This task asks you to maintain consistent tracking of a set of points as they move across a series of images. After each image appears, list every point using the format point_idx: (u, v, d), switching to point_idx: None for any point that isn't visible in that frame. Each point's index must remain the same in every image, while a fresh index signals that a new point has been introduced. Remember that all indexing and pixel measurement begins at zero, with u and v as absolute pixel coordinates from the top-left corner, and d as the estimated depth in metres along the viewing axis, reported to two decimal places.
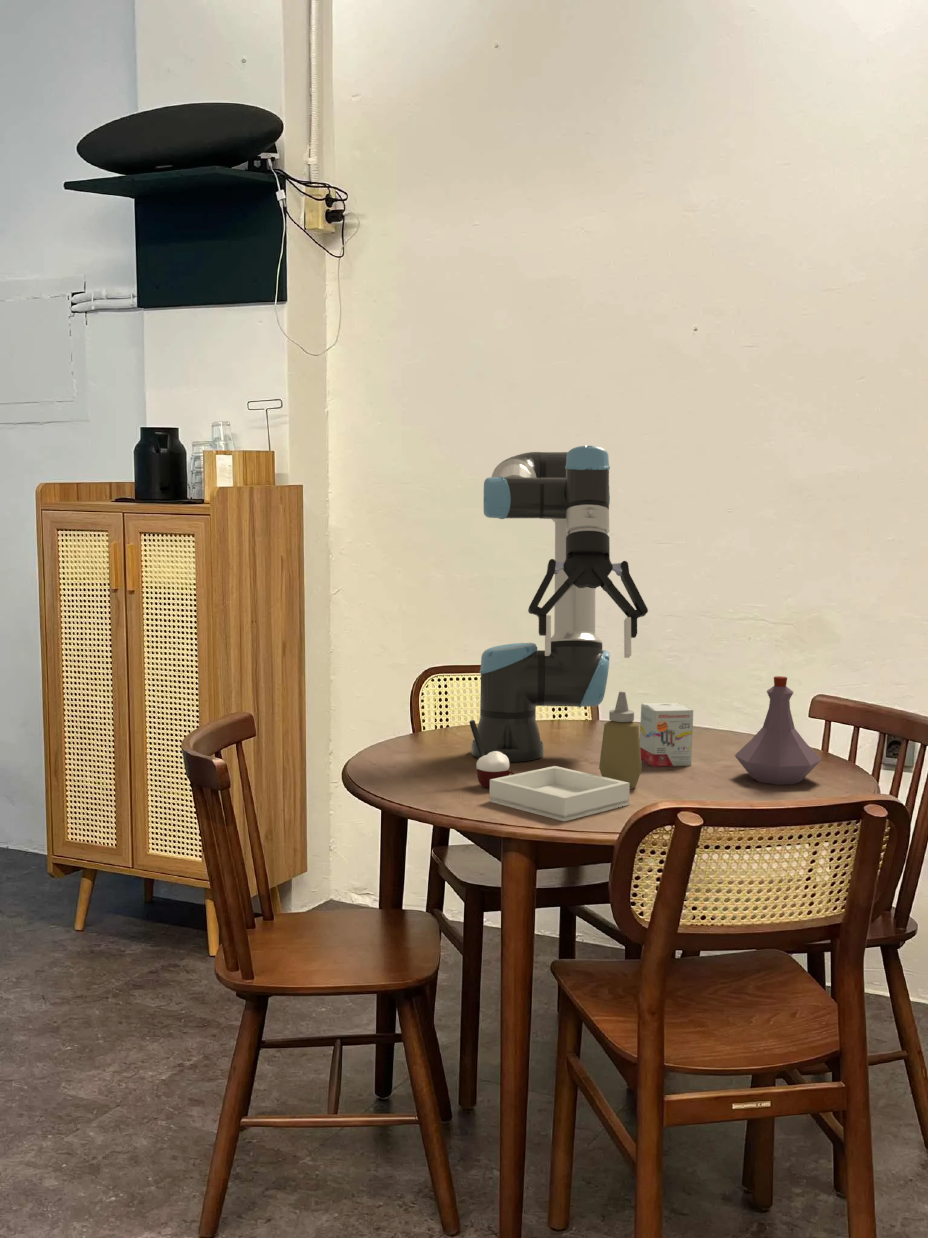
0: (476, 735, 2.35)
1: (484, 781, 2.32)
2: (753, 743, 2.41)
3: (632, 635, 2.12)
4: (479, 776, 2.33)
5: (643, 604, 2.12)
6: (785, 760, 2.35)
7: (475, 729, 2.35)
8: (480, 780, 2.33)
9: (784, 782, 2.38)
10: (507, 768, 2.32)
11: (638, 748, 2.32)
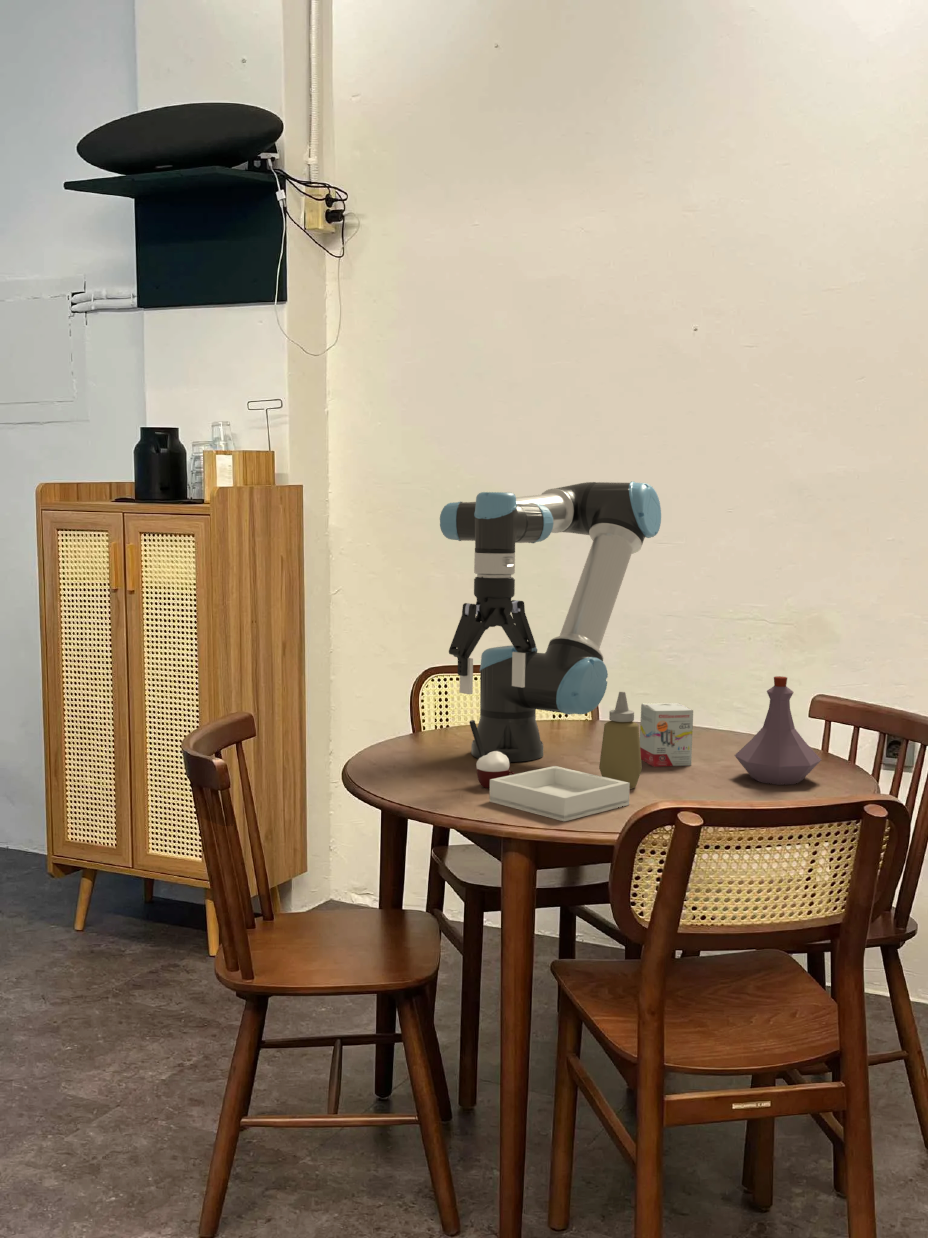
0: (476, 735, 2.35)
1: (484, 781, 2.32)
2: (753, 743, 2.41)
3: None
4: (479, 776, 2.33)
5: (533, 640, 2.37)
6: (785, 760, 2.35)
7: (475, 729, 2.35)
8: (480, 780, 2.33)
9: (784, 782, 2.38)
10: (507, 768, 2.32)
11: (638, 748, 2.32)
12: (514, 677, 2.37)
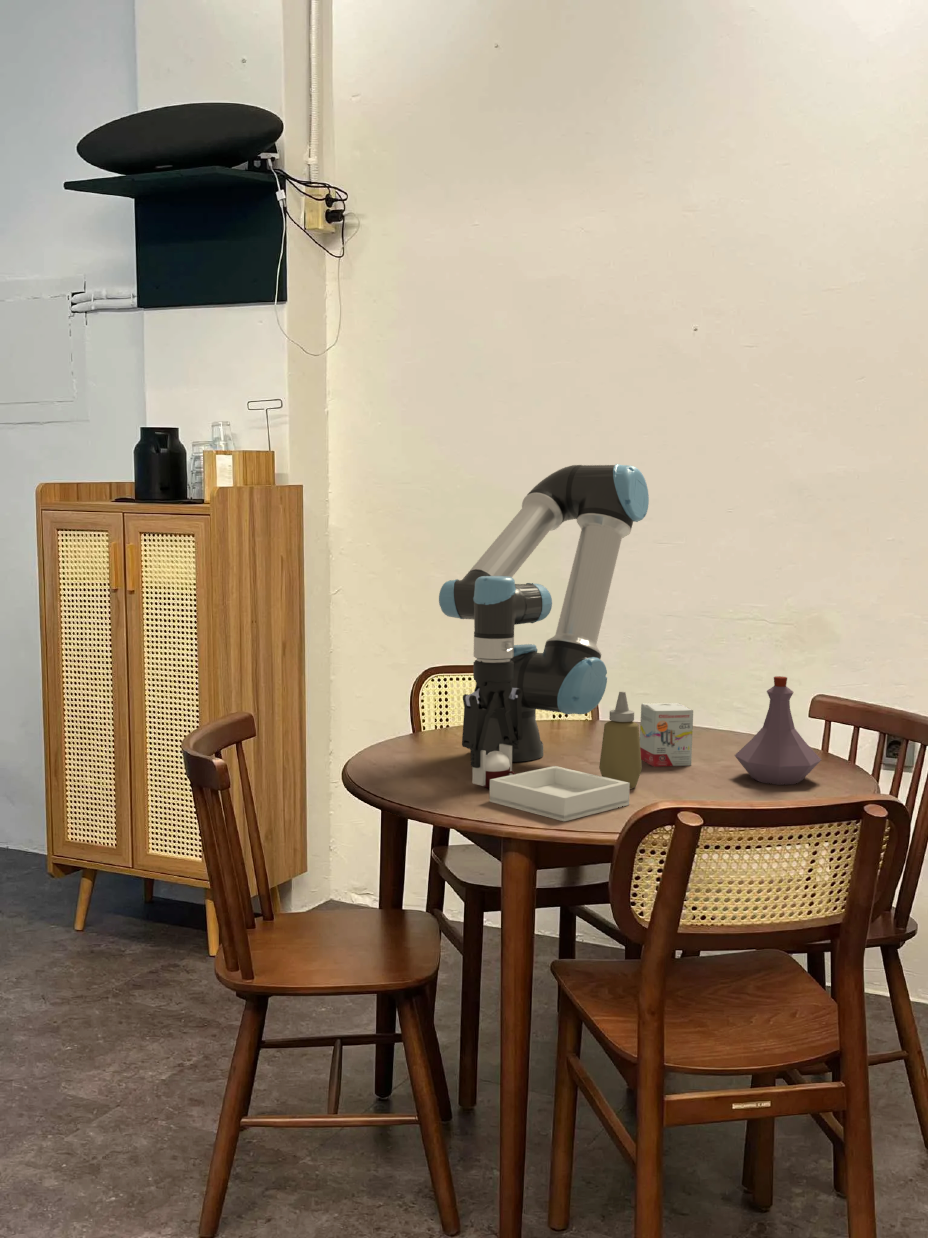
0: None
1: None
2: (753, 743, 2.41)
3: None
4: None
5: (521, 731, 2.37)
6: (785, 760, 2.35)
7: None
8: None
9: (784, 782, 2.38)
10: (507, 768, 2.32)
11: (638, 748, 2.32)
12: None
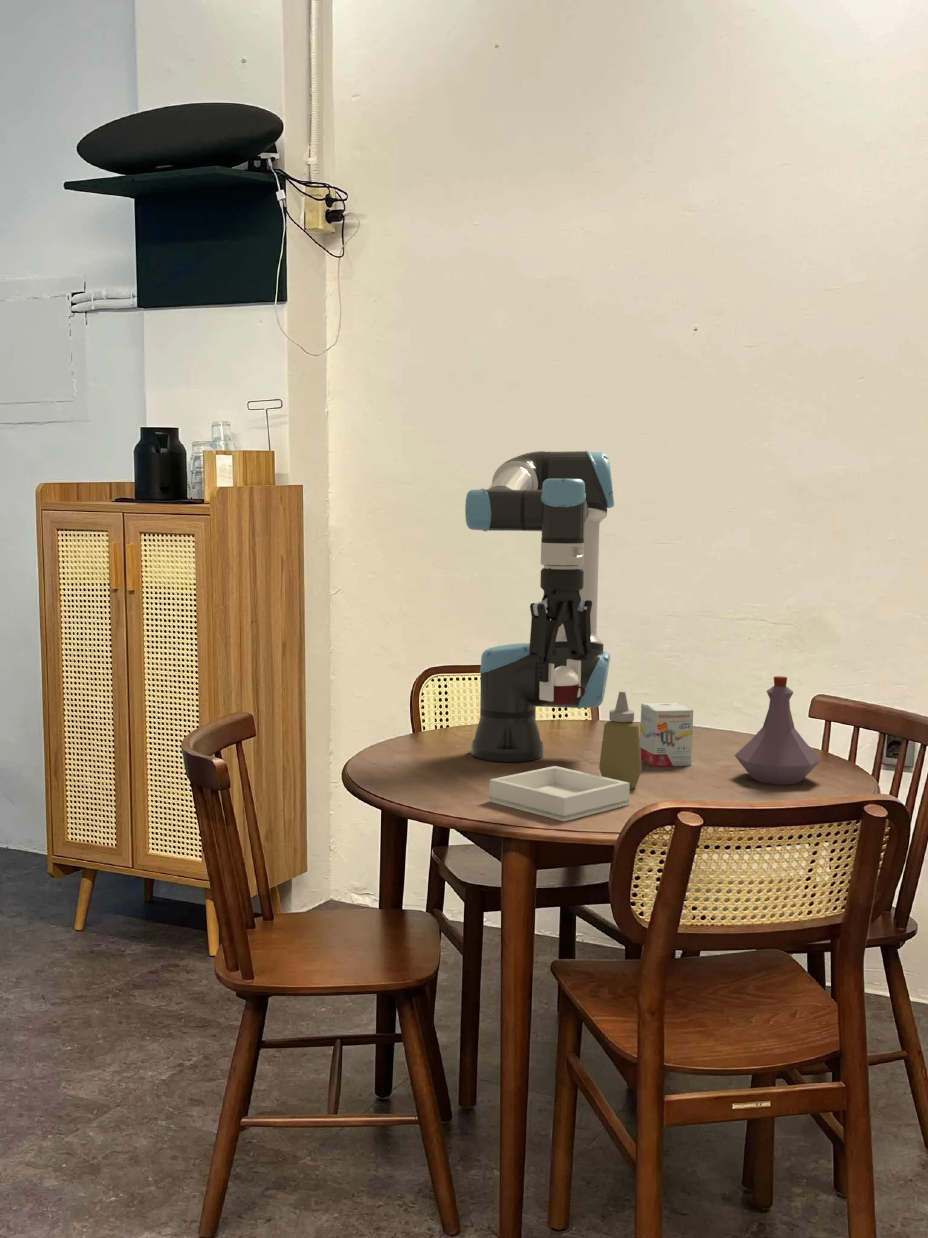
0: None
1: None
2: (753, 743, 2.41)
3: None
4: None
5: (590, 646, 2.23)
6: (785, 760, 2.35)
7: None
8: None
9: (784, 782, 2.38)
10: (576, 683, 2.18)
11: (638, 748, 2.32)
12: None
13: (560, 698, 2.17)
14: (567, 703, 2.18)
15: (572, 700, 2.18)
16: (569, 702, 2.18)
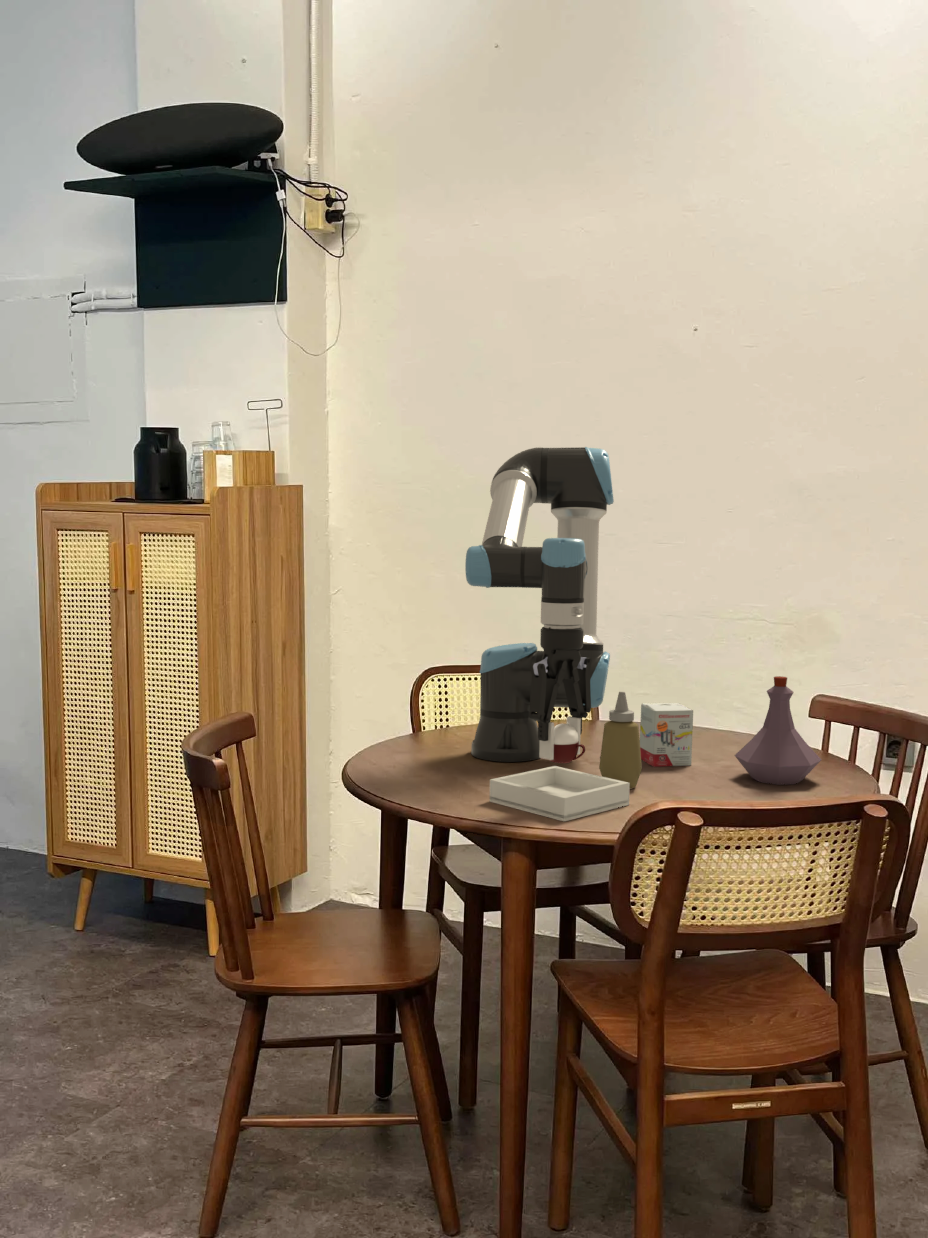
0: None
1: None
2: (753, 743, 2.41)
3: None
4: None
5: (589, 703, 2.24)
6: (785, 760, 2.35)
7: None
8: None
9: (784, 782, 2.38)
10: (576, 741, 2.19)
11: (638, 748, 2.32)
12: None
13: (560, 757, 2.18)
14: (567, 761, 2.19)
15: (572, 758, 2.19)
16: (569, 760, 2.19)
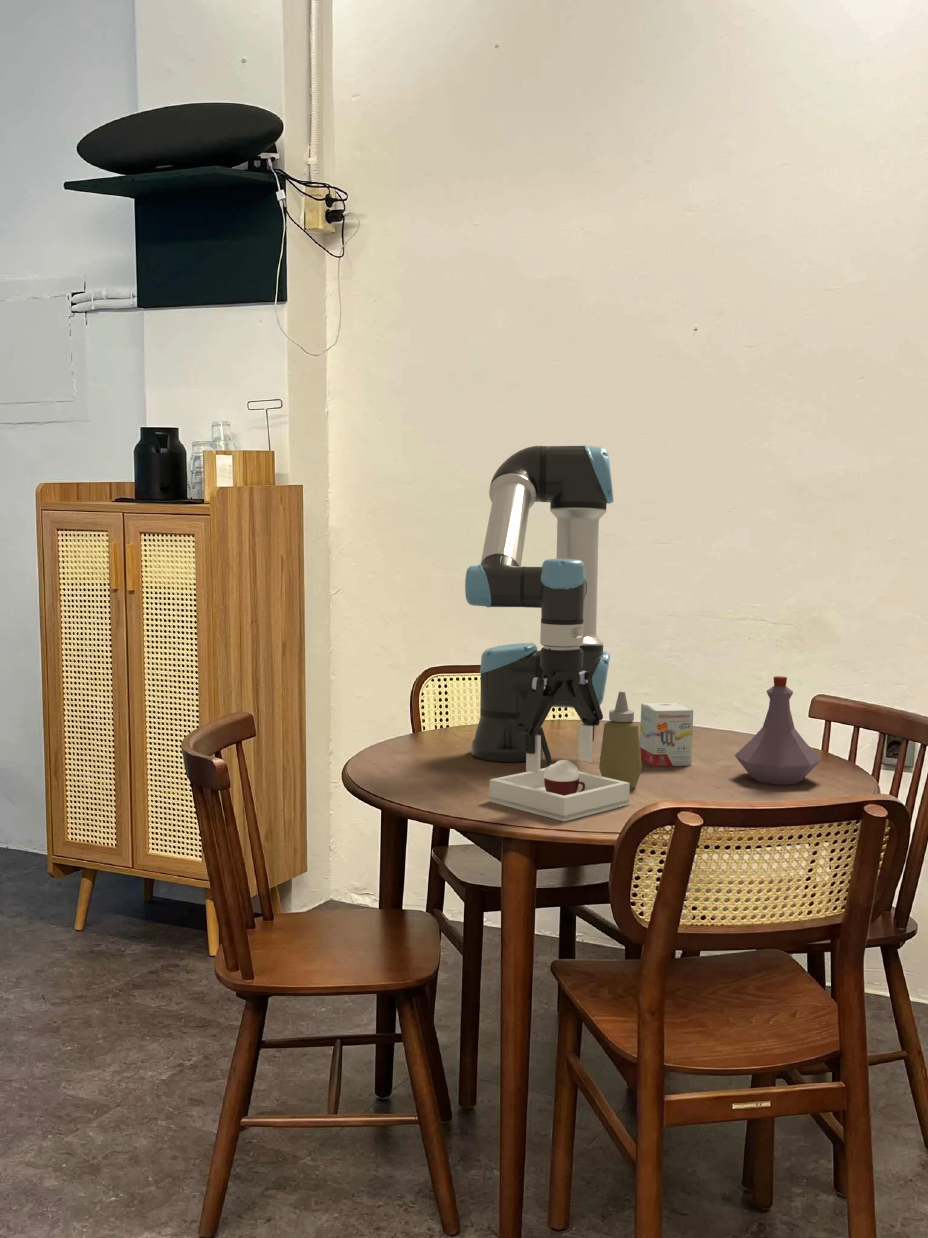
0: (544, 743, 2.23)
1: (552, 791, 2.20)
2: (753, 743, 2.41)
3: None
4: (547, 786, 2.20)
5: (600, 711, 2.26)
6: (784, 760, 2.35)
7: (543, 736, 2.23)
8: (548, 790, 2.20)
9: (784, 782, 2.38)
10: (576, 778, 2.20)
11: (638, 748, 2.32)
12: (581, 751, 2.26)
13: (560, 793, 2.19)
14: None
15: None
16: None
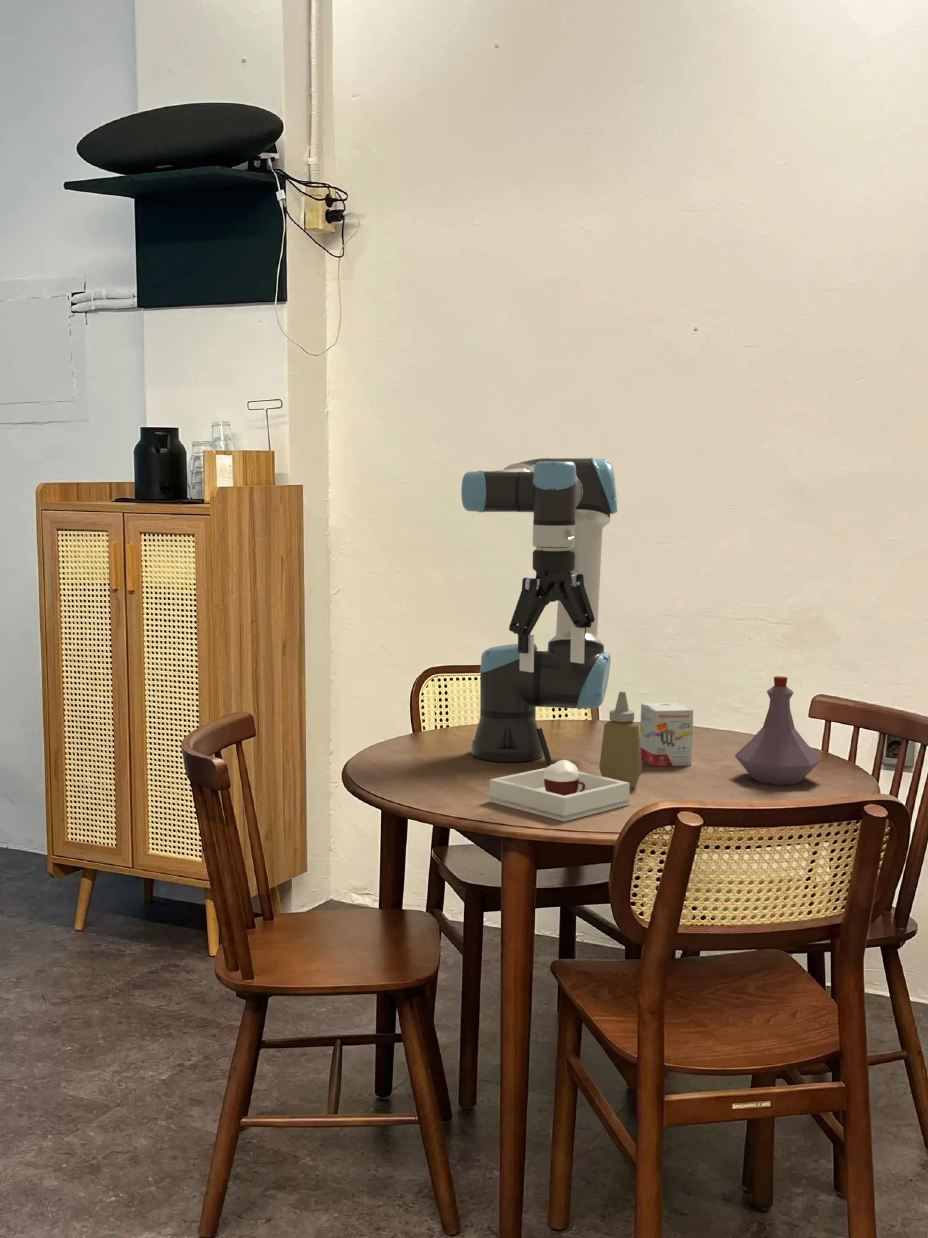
0: (544, 743, 2.23)
1: (552, 792, 2.20)
2: (753, 743, 2.41)
3: None
4: (546, 786, 2.20)
5: (592, 614, 2.29)
6: (785, 760, 2.35)
7: (542, 737, 2.23)
8: (547, 790, 2.21)
9: (784, 782, 2.38)
10: (576, 778, 2.20)
11: (638, 748, 2.32)
12: (573, 653, 2.29)
13: (560, 794, 2.19)
14: None
15: None
16: None
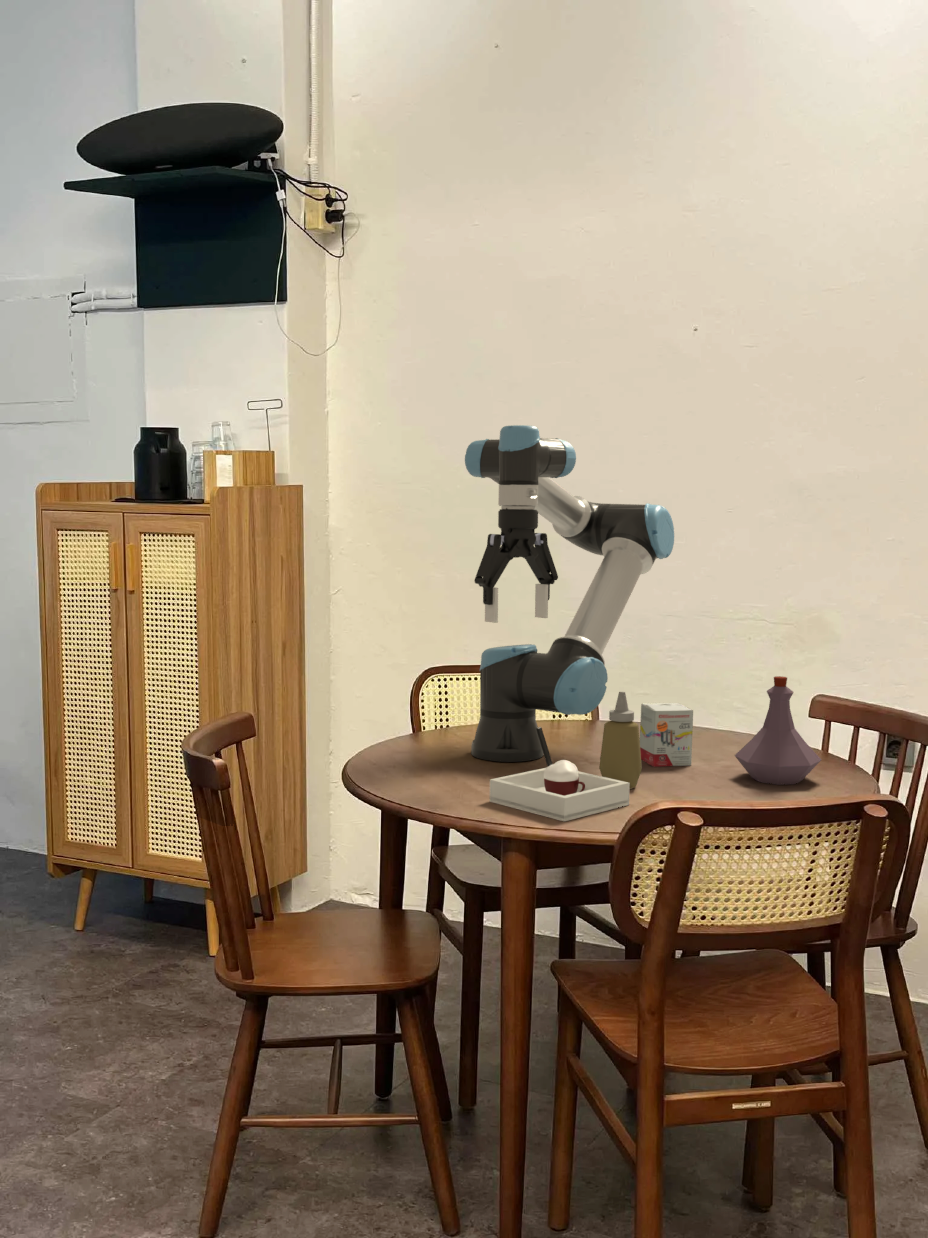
0: (544, 743, 2.23)
1: (552, 792, 2.20)
2: (753, 743, 2.41)
3: None
4: (546, 786, 2.20)
5: (555, 572, 2.43)
6: (785, 760, 2.35)
7: (542, 737, 2.23)
8: (547, 790, 2.21)
9: (784, 782, 2.38)
10: (576, 778, 2.20)
11: (638, 748, 2.32)
12: (537, 608, 2.43)
13: (560, 794, 2.19)
14: None
15: None
16: None
